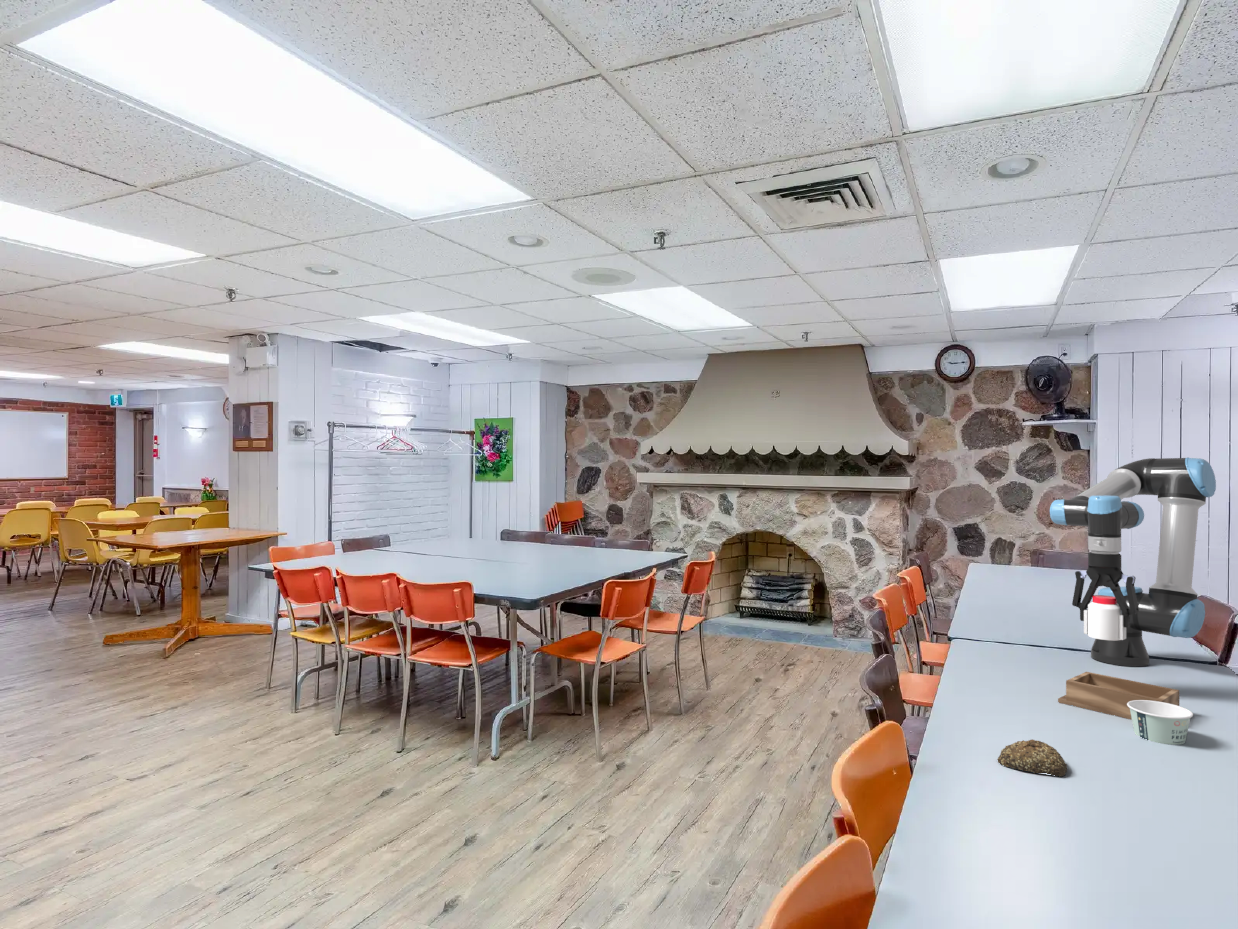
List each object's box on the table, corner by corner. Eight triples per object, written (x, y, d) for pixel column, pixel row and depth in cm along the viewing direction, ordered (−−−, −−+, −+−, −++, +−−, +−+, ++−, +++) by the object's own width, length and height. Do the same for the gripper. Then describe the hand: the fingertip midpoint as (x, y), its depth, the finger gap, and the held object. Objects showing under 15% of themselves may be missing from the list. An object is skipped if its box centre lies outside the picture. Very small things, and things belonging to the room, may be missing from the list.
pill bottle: (1127, 641, 192) (1127, 599, 192) (1095, 640, 193) (1095, 598, 193) (1113, 634, 199) (1113, 594, 199) (1082, 633, 201) (1082, 593, 201)
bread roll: (1067, 782, 140) (1067, 757, 140) (995, 768, 147) (995, 744, 147) (1067, 760, 151) (1067, 736, 151) (1000, 748, 158) (1000, 725, 158)
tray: (1079, 692, 196) (1079, 670, 196) (1188, 716, 177) (1188, 691, 177) (1058, 702, 187) (1058, 679, 187) (1170, 729, 168) (1170, 703, 168)
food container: (1175, 751, 155) (1175, 720, 155) (1115, 733, 166) (1115, 704, 166) (1204, 741, 161) (1204, 712, 161) (1144, 724, 172) (1144, 697, 172)
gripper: (1057, 549, 202) (1057, 631, 202) (1144, 557, 186) (1144, 645, 186) (1068, 547, 207) (1068, 627, 207) (1154, 554, 191) (1154, 641, 190)
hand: (1104, 636), depth 196 cm, fingers closed on pill bottle, 8 cm apart
